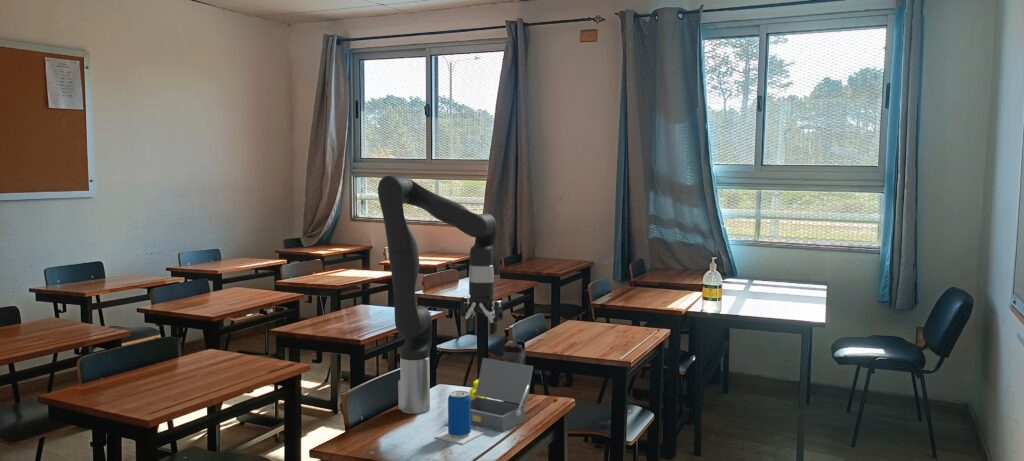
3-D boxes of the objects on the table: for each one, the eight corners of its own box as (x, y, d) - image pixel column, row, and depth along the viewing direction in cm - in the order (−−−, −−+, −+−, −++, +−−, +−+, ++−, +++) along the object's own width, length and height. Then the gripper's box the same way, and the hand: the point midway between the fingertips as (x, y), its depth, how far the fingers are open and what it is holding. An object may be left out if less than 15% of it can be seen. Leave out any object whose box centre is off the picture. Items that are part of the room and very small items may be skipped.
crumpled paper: (460, 403, 237) (460, 380, 237) (479, 398, 243) (479, 375, 242) (471, 407, 233) (471, 383, 232) (490, 402, 238) (490, 379, 238)
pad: (435, 437, 205) (435, 436, 205) (456, 427, 214) (456, 426, 214) (463, 444, 200) (463, 443, 200) (483, 433, 208) (483, 432, 208)
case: (451, 421, 219) (451, 369, 218) (484, 406, 233) (484, 357, 232) (504, 433, 209) (504, 378, 207) (535, 416, 223) (535, 365, 222)
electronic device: (520, 407, 232) (520, 346, 230) (502, 406, 233) (502, 346, 232) (525, 399, 241) (525, 340, 240) (508, 398, 242) (508, 339, 241)
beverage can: (474, 431, 209) (473, 391, 208) (465, 439, 203) (465, 398, 202) (453, 429, 211) (453, 389, 210) (444, 436, 205) (444, 395, 204)
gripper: (455, 279, 218) (455, 332, 219) (493, 283, 210) (493, 338, 211) (470, 276, 224) (470, 327, 226) (507, 280, 216) (507, 333, 218)
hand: (481, 332), depth 218 cm, fingers open, 8 cm apart
